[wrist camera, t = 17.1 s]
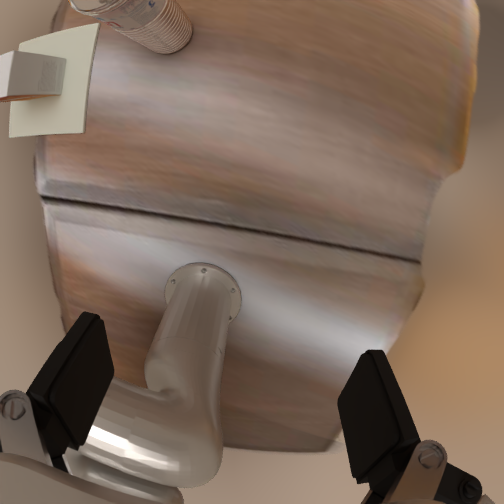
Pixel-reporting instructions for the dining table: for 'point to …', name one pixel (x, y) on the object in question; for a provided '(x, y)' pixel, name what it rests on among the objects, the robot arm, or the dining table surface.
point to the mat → (73, 90)
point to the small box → (30, 76)
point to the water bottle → (143, 21)
